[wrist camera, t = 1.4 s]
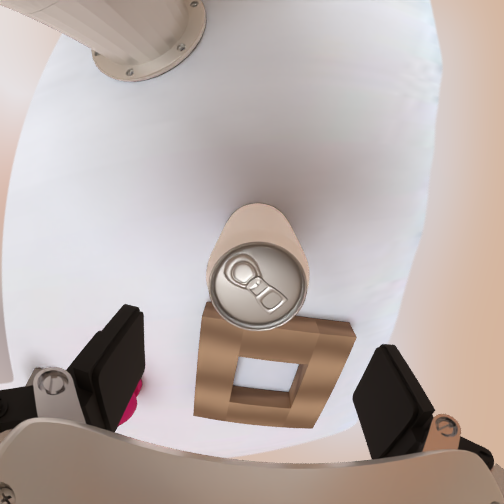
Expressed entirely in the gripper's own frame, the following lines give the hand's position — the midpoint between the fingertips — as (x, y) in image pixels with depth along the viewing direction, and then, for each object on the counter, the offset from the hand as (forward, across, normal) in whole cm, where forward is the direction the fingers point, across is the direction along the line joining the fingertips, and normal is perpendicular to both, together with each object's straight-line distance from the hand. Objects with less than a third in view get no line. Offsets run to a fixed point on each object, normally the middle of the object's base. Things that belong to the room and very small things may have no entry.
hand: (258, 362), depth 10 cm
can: (+18, 0, 0) cm, 18 cm away
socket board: (+18, -4, +16) cm, 24 cm away
